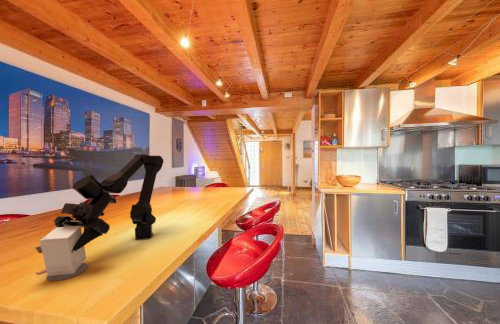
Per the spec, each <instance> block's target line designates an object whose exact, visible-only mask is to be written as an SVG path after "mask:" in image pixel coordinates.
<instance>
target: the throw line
mask: <svg viewBox="0 0 500 324" xmlns="http://www.w3.org/2000/svg"><path fill="white" fill-rule="evenodd" d="M44 273H45V274H46V273H47V271H46V268H44V269H42V270H39V271H36V274H37V275H42V274H44Z"/></svg>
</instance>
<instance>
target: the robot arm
mask: <svg viewBox="0 0 500 324" xmlns="http://www.w3.org/2000/svg"><path fill="white" fill-rule="evenodd" d="M163 165H164V158H163V157H162V156H161V155H148V154H146V153H145V154H143V153H141V154H138V153H137V154H136V155H135V154H134V157H133V158H132V159H131V160H130V161H129V162H127V164H125V166H123V167H122V168H121V169H119V171H118V172H116V173H114V174H112V175H109V176H107V177H106V178H105V179H103V180H102V181H101V182H100V181H98V180H97V179H96V177H95V176H94V175H93V174H87V175H86V176H85V177H82V178H81V179H79V180H77V181H76V182H74V183H73V185H72V189H73V190H74V191H75V192H77V194H79V195H80V196H81V197H82V198H84V199H85V200H89V201H88V202H83V201H82V202H80V203H78V204H77V203H70V202H69V203H67V202H66V203H64V205H63V206H62V209H61V212H60V214H65V215H58V216H56V218H55V219H54V220H53V221H52V222H53V223H54V225H55V228H57V227H70V226H81V228H83V232H82V235H81V237H80V238H79V240H78V241H77V243H76V244H75V246H74V247H73V250H74V251H77V250H78V249H80V248H81V247H83V246H84V247H85V246H86V245H87V244H89V243H90V242H92V241H94V240H95V239H97V238H99V237H102V236H103V235H104V234H105V235H106V234H108V232H109V231H110V226H111V225H110V224H109V223H108V222H106V221H105V220H104V219H102V218H100V217H104V215H105V213H104V211H105V210H106V208H108V206H109V205H110V204H116V203H117V199H116V196H114V195H113V196H112V195H111V194H121V193H122V192H123V191H124V190H125V188H126V187H127V185H128V182H129V180H130V178H132V177H133V176H134V175H135V173H137V171H138V170H139V169H141V168H142V166H143V168H144V171H145V173H144V178H143V182H142V186H141V189H140V193H139V196H138V201H137V202H136V203H135V204H132V205H131V208H130V209H131V210H130V211H129V214H130V215H129V217H130V219H131V222H132V224H133V225H135V226H136V227H134V237H135V238H134V239H135V240H144V239H151V238H152V236H153V234H154V232H153V225H154V224H155V223H156V221H157V218H156V216H154V215H153V213H152V212H153V207H152V205H151V200H152V195H153V191H154V187H155V183H156V178H157V175H158V173H159V172H160V171H161V170H162V167H163ZM70 215H71V216H70Z"/></svg>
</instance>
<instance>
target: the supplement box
mask: <svg viewBox="0 0 500 324" xmlns="http://www.w3.org/2000/svg"><path fill="white" fill-rule="evenodd" d="M82 234H83V232H82V227H81V226H70V227H55V228H54V229H52V230H51V231H50V232H48V234H46V235H45V236H44V237H42V239H41V238H40V240H39V244H40V246H41V249H42V253H41V254H42V256H43V262H44V267H45V269H46V271H47V272H46V274H47V275H48V276H57V275H67V274H74V273H75V271H76V270H77V269H78V268H79V266H80V265H81V264H82V263H85V261H86V260H87V255H86V254H87V253H86V248H85V245H84V246H83V247H81V248H80V249H78V250H77V251H74V250H73V247H74V246H75V244H76V243H77V241H78V240H79V238H80V237H81V235H82ZM47 275H46V276H47Z"/></svg>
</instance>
